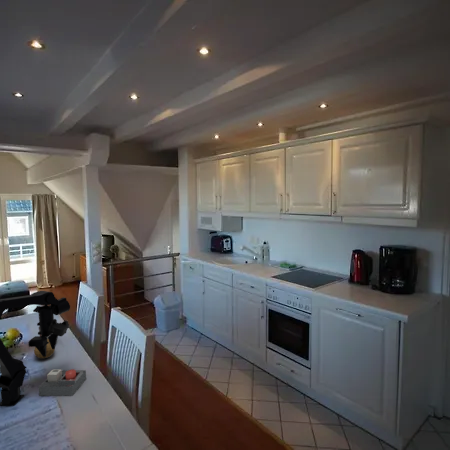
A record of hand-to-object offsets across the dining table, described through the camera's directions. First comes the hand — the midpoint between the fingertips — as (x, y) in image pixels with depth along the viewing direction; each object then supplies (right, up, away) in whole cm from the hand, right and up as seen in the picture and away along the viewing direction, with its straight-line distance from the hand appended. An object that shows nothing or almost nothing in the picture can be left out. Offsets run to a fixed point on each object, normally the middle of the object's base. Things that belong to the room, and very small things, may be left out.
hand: (49, 352), depth 142 cm
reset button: (+13, -10, -7) cm, 18 cm away
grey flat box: (+10, -12, -6) cm, 17 cm away
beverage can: (-19, -10, +35) cm, 41 cm away
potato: (-14, -11, +21) cm, 28 cm away
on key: (+6, -10, -6) cm, 14 cm away
